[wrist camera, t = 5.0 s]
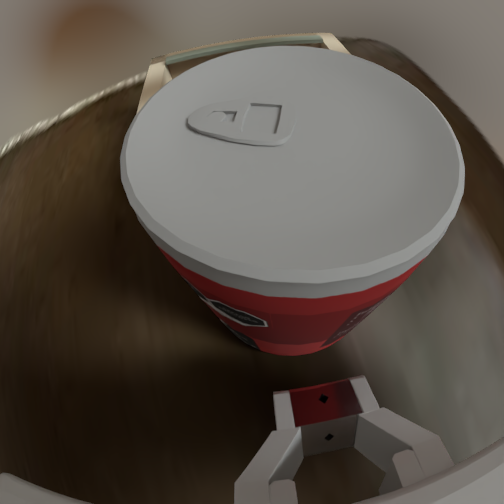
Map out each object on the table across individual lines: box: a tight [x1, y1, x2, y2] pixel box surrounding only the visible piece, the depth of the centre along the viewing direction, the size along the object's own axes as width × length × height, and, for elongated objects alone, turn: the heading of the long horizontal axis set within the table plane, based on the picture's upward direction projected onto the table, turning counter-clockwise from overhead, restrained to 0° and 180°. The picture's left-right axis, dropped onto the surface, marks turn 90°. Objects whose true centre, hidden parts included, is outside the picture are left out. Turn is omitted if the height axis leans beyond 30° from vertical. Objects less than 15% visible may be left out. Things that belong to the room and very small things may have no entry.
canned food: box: [120, 46, 465, 356], centre depth 11 cm, size 8×8×11 cm
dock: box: [137, 33, 351, 113], centre depth 18 cm, size 11×13×6 cm
